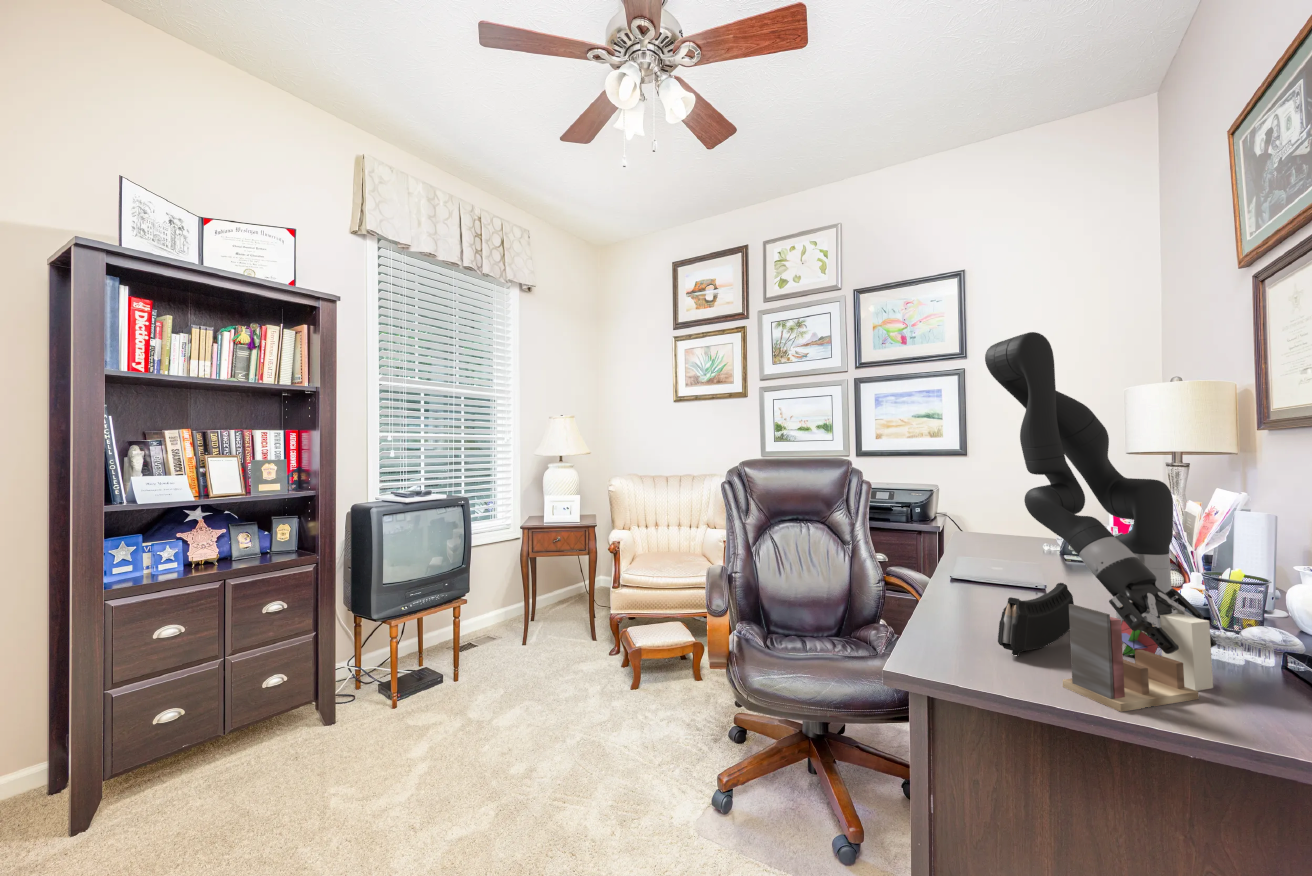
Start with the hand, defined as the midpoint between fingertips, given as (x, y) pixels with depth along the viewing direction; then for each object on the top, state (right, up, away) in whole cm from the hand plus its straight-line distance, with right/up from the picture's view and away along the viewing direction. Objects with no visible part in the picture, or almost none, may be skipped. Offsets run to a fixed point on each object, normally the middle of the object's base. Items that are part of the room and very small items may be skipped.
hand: (1192, 649), depth 88 cm
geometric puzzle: (+2, -7, +13) cm, 15 cm away
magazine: (-10, -7, +21) cm, 25 cm away
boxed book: (0, -6, +1) cm, 6 cm away
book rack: (-13, -6, -2) cm, 14 cm away
